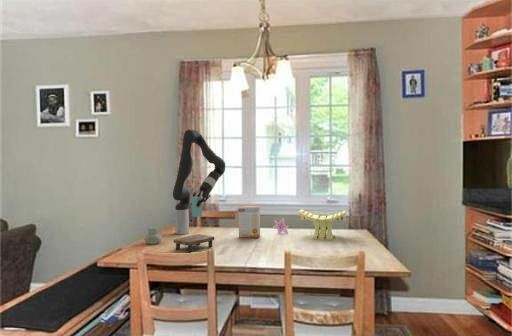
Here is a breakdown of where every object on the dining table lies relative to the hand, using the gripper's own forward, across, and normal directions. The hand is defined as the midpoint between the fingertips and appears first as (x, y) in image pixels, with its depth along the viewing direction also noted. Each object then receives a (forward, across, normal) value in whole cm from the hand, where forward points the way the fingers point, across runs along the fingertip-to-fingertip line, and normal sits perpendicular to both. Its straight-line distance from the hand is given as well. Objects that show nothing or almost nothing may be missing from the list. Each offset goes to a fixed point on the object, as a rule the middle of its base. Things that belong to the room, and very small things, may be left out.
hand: (194, 205), depth 252 cm
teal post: (+3, 0, +6) cm, 7 cm away
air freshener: (+26, -25, +8) cm, 37 cm away
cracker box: (-9, +13, +44) cm, 47 cm away
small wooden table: (+22, +6, +13) cm, 26 cm away
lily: (-25, +22, +60) cm, 69 cm away
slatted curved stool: (-29, +52, +65) cm, 88 cm away
